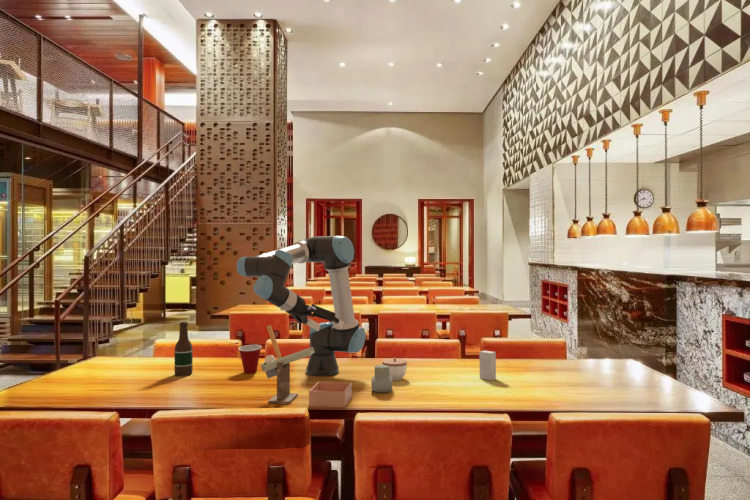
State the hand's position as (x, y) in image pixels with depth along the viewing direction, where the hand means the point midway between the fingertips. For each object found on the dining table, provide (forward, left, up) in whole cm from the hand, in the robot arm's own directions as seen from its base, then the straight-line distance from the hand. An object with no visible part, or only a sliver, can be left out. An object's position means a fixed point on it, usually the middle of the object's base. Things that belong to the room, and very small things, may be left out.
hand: (330, 326), depth 200 cm
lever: (-6, -14, -15) cm, 21 cm away
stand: (-8, -17, -27) cm, 32 cm away
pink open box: (+7, -6, -27) cm, 28 cm away
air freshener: (+12, +17, -27) cm, 34 cm away
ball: (-13, -20, -12) cm, 26 cm away
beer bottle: (-75, -22, -27) cm, 83 cm away
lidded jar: (+3, +36, -27) cm, 45 cm away
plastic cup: (-56, +1, -27) cm, 62 cm away
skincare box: (+34, +63, -27) cm, 77 cm away
